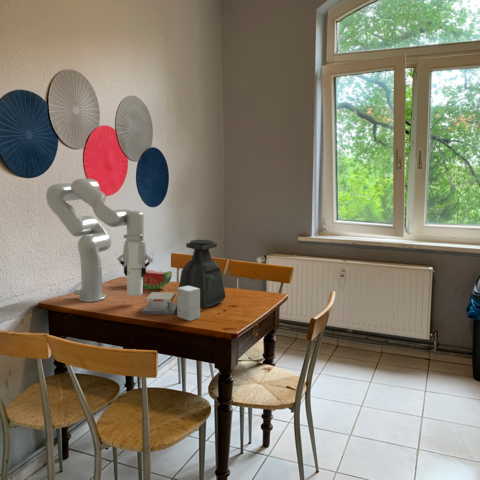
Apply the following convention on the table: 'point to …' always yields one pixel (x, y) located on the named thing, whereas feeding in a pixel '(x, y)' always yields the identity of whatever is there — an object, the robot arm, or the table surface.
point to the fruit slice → (156, 279)
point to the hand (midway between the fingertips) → (134, 275)
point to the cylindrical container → (134, 271)
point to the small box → (188, 302)
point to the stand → (160, 304)
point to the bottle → (203, 274)
